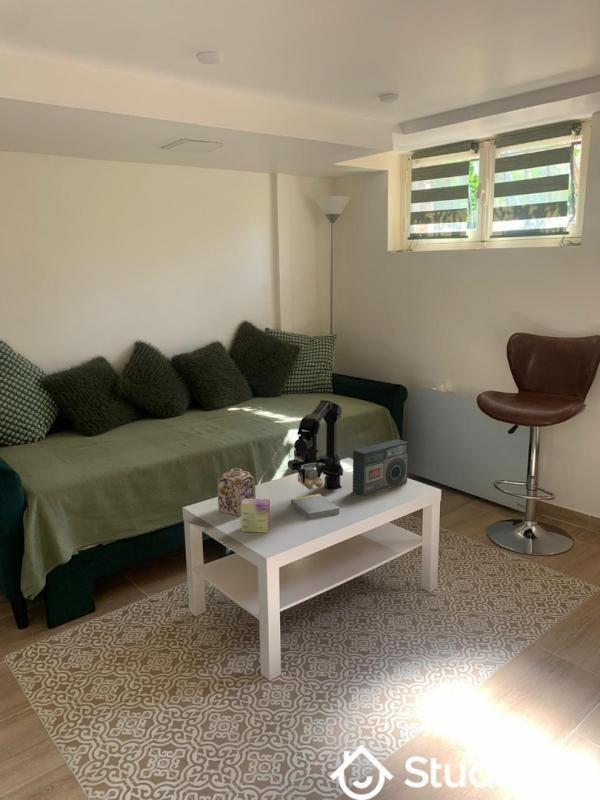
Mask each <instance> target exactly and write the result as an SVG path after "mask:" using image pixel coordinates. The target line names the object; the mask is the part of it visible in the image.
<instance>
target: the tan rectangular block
mask: <svg viewBox="0 0 600 800" xmlns="http://www.w3.org/2000/svg"><path fill="white" fill-rule="evenodd" d="M297 482H298V483H300V484H301V485H302V486H304V487H305V488H307V489H308V490H309V491H310V490H314V486H316V487H317V488H318V489H323V488H324V487H323V486H324V484H323V483H324V479H322V478H321V477H320V478H319V477H318V476H317V478H314V479H308V478H306V477H305V482H304V483H302V480H301V477H300V475H299V472H298V473H297Z"/></svg>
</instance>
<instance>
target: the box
mask: <svg viewBox="0 0 600 800" xmlns="http://www.w3.org/2000/svg"><path fill="white" fill-rule="evenodd" d="M270 503H271V500H270V499H268V498H267V499H265V498H262V499H261V498H256V499H245V498H244V499H243V501H242V503H241V516H240V518H241V532H242V533H244V532H245V533H248V532H249V533H264V534H268V533H269V531H270V528H271V517H270V516H271V508H270V507H271V504H270Z"/></svg>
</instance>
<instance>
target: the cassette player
mask: <svg viewBox="0 0 600 800" xmlns="http://www.w3.org/2000/svg"><path fill="white" fill-rule="evenodd" d="M408 466H409V441H406V440H405V441H404V440H401V439H397V438H396V439H392V440H389V441H385V442H380V443H376V444H372V445H369V446H364V447H361V448H357V449H353V450H352V492H353V493H354V492H355V494H357V493H358V495H359V494H360V496H362V495H363V496H362V497H365V496H368V495H371V494H374V492H375V493H378V492H381V491H383V489H384V490H387V489H390V488H389V487H391V488H393V487H392V486H394V487H396V486H395V485H397V486H399V485H398V484H400V485H403V484H402V483H404V484H406V482H407V483H408V468H409V467H408ZM386 488H387V489H386ZM380 490H381V491H380ZM377 491H378V492H377ZM370 493H371V494H370ZM367 494H368V495H367ZM364 495H365V496H364Z"/></svg>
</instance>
